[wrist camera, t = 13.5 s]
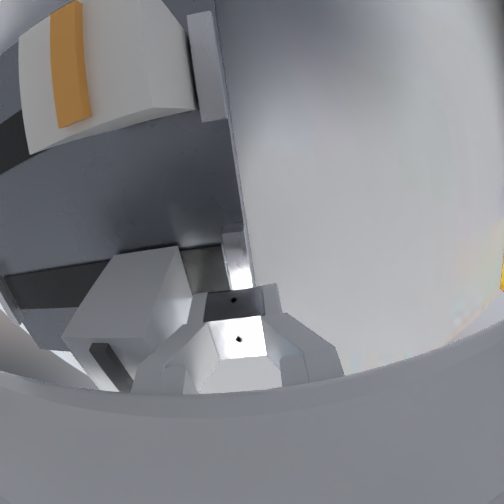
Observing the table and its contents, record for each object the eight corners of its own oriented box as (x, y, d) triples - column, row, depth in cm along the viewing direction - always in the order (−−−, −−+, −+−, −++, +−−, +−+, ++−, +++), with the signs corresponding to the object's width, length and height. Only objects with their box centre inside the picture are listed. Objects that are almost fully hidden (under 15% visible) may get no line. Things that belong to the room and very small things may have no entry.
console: (-18, 98, 8) (-57, 107, 5) (212, -12, 8) (202, -49, 5) (56, 322, 17) (36, 356, 14) (259, 309, 17) (263, 357, 13)
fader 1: (108, 56, 7) (10, 35, 2) (186, 32, 7) (134, -33, 2) (118, 129, 8) (21, 158, 4) (197, 109, 8) (147, 107, 4)
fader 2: (114, 255, 11) (57, 343, 6) (177, 245, 11) (140, 346, 6) (136, 309, 12) (102, 400, 8) (195, 304, 12) (177, 405, 8)
